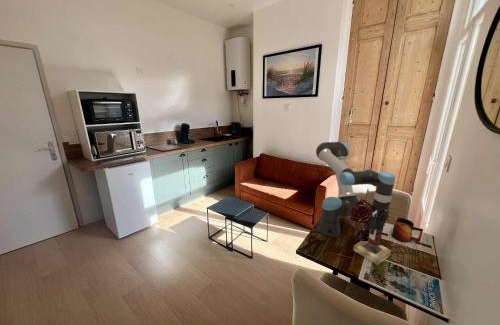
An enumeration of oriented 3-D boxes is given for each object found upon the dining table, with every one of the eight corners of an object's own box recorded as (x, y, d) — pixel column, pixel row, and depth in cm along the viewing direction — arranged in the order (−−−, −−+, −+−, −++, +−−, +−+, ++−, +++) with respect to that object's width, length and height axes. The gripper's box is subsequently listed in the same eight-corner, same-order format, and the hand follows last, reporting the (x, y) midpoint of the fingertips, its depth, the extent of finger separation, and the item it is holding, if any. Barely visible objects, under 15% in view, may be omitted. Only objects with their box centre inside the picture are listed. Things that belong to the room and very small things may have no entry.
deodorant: (365, 240, 120) (369, 217, 116) (374, 238, 121) (378, 216, 117) (373, 246, 115) (378, 223, 110) (382, 244, 116) (387, 221, 112)
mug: (420, 243, 128) (424, 227, 125) (397, 242, 130) (401, 225, 126) (410, 234, 138) (414, 218, 134) (388, 232, 139) (392, 217, 135)
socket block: (353, 250, 123) (354, 245, 122) (366, 242, 130) (367, 237, 129) (377, 265, 111) (378, 259, 110) (390, 255, 118) (391, 250, 117)
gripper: (380, 207, 103) (372, 246, 109) (398, 198, 112) (390, 234, 119) (365, 201, 109) (359, 238, 115) (383, 193, 118) (377, 228, 125)
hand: (374, 236), depth 117 cm, fingers closed on deodorant, 6 cm apart
